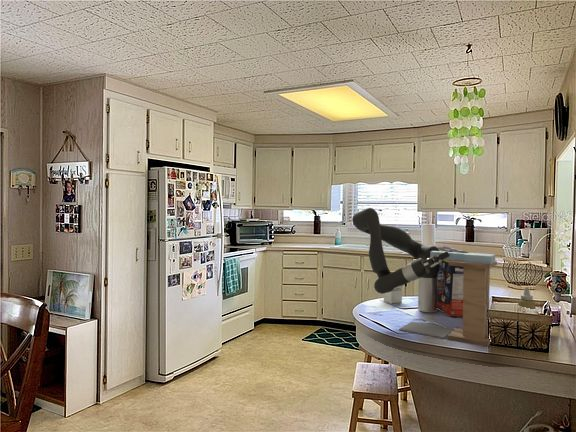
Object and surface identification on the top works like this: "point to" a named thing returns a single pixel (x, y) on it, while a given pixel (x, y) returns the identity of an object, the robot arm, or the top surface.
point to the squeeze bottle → (527, 300)
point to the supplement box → (394, 295)
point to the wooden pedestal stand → (474, 303)
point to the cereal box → (450, 286)
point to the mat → (427, 329)
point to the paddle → (467, 257)
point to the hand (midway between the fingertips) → (450, 253)
